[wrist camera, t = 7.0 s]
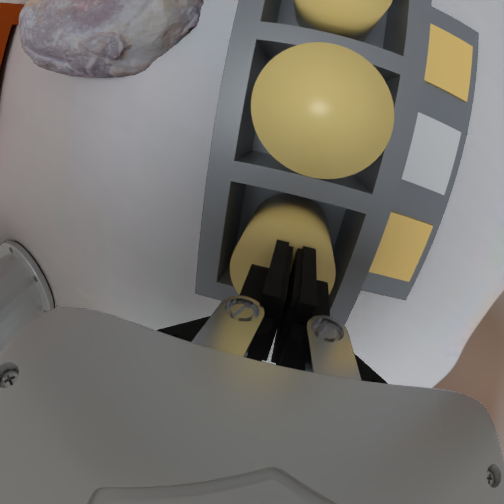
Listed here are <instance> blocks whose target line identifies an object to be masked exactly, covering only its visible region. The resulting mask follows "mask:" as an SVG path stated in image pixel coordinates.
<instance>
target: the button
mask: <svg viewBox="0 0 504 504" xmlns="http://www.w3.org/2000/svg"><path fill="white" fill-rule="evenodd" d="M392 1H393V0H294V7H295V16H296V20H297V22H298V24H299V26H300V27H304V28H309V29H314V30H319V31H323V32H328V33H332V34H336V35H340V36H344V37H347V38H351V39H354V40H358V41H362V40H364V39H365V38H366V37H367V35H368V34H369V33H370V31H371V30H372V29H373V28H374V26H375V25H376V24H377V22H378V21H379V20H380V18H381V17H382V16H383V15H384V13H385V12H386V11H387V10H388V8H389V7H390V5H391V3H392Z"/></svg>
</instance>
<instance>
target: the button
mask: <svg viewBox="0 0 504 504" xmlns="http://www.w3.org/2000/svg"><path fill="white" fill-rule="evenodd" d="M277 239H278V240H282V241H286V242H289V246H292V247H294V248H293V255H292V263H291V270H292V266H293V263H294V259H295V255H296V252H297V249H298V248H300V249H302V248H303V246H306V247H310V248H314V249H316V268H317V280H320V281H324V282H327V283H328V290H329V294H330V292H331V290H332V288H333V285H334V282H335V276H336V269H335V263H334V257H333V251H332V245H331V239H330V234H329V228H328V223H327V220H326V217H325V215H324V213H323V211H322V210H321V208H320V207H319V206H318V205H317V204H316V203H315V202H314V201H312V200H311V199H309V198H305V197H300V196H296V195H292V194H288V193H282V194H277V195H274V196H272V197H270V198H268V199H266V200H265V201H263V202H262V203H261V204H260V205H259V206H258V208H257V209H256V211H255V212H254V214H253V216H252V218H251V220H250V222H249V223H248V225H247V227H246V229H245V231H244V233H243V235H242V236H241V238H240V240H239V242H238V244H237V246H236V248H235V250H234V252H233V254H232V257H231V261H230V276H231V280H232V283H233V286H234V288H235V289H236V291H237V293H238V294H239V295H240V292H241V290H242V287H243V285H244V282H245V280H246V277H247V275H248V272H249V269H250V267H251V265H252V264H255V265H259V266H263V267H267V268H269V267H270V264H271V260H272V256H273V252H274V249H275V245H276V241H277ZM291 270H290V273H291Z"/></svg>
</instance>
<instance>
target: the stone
mask: <svg viewBox="0 0 504 504" xmlns="http://www.w3.org/2000/svg"><path fill="white" fill-rule="evenodd" d="M202 5H203V0H27V2H26V3H25V5H24V7H23V8H22V10H21V12H20V15H19V27H20V35H21V43H22V48H23V50H24V51H25V52H26V53H27V54H28V55H29V56H30V57H31V58H32V60H33V62H34V63H35V64H37V65H38V66H39V67H42V68H45V69H47V70H51V71H54V72H57V73H61V74H65V75H70V76H80V77H99V78H101V77H120V76H129V75H136V74H138V73H140V72H142V71H144V70H146V69H147V68H148V67H149V66H150V65H151V63H152V62H153V61H155V60H156V59H157V58H158V57H160V56H162V55H163V54H164V53H166V52H167V51H168V50H169V49H170V48H171V47H173V46H174V45H176V44H177V43H178V42H179V41H180V40H181V39H182V38H183V37H184V36H185V35H187V34H188V32H189V31H190V30H191V29H193V28H195V27H196V26H197V23H198V21H199V17H200V9H201V6H202Z"/></svg>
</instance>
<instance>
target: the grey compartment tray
mask: <svg viewBox="0 0 504 504" xmlns="http://www.w3.org/2000/svg"><path fill="white" fill-rule="evenodd" d="M430 23H431V0H393V1H392V3H391V5H390V7H389V8H388V10H387V11H386V12H385V13H384V15H383V16H382V17H381V18H380V20H379V21H378V22H377V24H376V25H375V26H374V28H373V29H372V30H371V31H370V33H369V34H368V35H367V37H366V38H365V39H364V40H362V41H358V40H354V39H351V38H347V37H344V36H340V35H336V34H332V33H328V32H323V31H319V30H314V29H309V28H304V27H300V26H299V24H298V22H297V20H296V16H295V7H294V0H239V2H238V6H237V10H236V14H235V19H234V23H233V28H232V32H231V37H230V42H229V46H228V51H227V56H226V61H225V66H224V72H223V77H222V82H221V88H220V93H219V99H218V105H217V111H216V117H215V123H214V130H213V136H212V143H211V150H210V157H209V164H208V172H207V179H206V187H205V195H204V204H203V213H202V222H201V232H200V242H199V252H198V264H197V276H196V289H195V294H199V295H203V296H206V297H210V298H214V299H217V300H221V301H223V300H225V299H226V298H228V297H231V296H239V294H238V293H237V291H236V289H235V288H234V286H233V283H232V280H231V276H230V261H231V257H232V254H233V252H234V250H235V248H236V246H237V244H238V242H239V240H240V238H241V236H242V235H243V233H244V231H245V229H246V227H247V225H248V223H249V222H250V220H251V218H252V216H253V214H254V212H255V211H256V209H257V208H258V206H259V205H260V204H261V203H262V202H263V201H265V200H266V199H268V198H270V197H272V196H274V195H277V194H282V193H288V194H292V195H296V196H300V197H305V198H309V199H311V200H312V201H314V202H315V203H316V204H317V205H318V206H319V207H320V208H321V210H322V211H323V213H324V215H325V217H326V220H327V223H328V228H329V234H330V239H331V245H332V251H333V257H334V263H335V269H336V276H335V282H334V285H333V288H332V290H331V292H330V294H329V306H330V317H333V318H335V319H337V320H338V321H340V322H341V323H342V324H343V325H345V323H346V321H347V319H348V317H349V315H350V313H351V310H352V308H353V306H354V304H355V302H356V300H357V297H358V295H359V293H360V291H361V288H362V286H363V284H364V281H365V279H366V277H367V274H368V272H369V269H370V267H371V265H372V262H373V260H374V257H375V255H376V252H377V249H378V247H379V244H380V242H381V239H382V236H383V233H384V231H385V228H386V225H387V222H388V219H389V216H390V214H391V211H392V208H393V205H394V202H395V198H396V195H397V192H398V189H399V186H400V182H401V179H402V176H403V172H404V169H405V165H406V161H407V158H408V154H409V150H410V146H411V142H412V138H413V134H414V129H415V125H416V120H417V116H418V111H419V106H420V101H421V95H422V90H423V84H424V77H425V71H426V63H427V55H428V47H429V36H430ZM313 42H323V43H331V44H336V45H340V46H343V47H346V48H348V49H350V50H352V51H354V52H356V53H358V54H359V55H361V56H363V57H364V58H365V59H366V60H368V61H369V62H370V63H371V64H372V65H373V66H374V67H375V68H376V69H377V70H378V71H379V73H380V74H381V76H382V77H383V78H384V80H385V82H386V84H387V86H388V88H389V90H390V93H391V96H392V100H393V105H394V125H393V131H392V134H391V137H390V140H389V142H388V144H387V146H386V148H385V149H384V151H383V152H382V154H381V155H380V156H379V157H378V158H377V159H376V160H375V161H374V162H373V163H372V164H371V165H370V166H368V167H366V168H365V169H363V170H362V171H360V172H358V173H356V174H353V175H350V176H347V177H343V178H337V179H318V178H312V177H308V176H305V175H301V174H299V173H297V172H294V171H292V170H290V169H289V168H287V167H285V166H284V165H282V164H281V163H280V162H278V161H277V160H276V159H275V158H274V157H273V156H272V155H271V154H270V153H269V152H268V151H267V149H266V148H265V147H264V146H263V144H262V142H261V141H260V139H259V137H258V135H257V133H256V131H255V128H254V124H253V121H252V115H251V97H252V92H253V88H254V85H255V82H256V80H257V78H258V76H259V74H260V73H261V71H262V69H263V68H264V67H265V66H266V65H267V63H268V62H269V61H270V60H272V59H273V58H274V57H275V56H276V55H278V54H279V53H281V52H282V51H284V50H286V49H288V48H291V47H293V46H296V45H300V44H305V43H313Z"/></svg>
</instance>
